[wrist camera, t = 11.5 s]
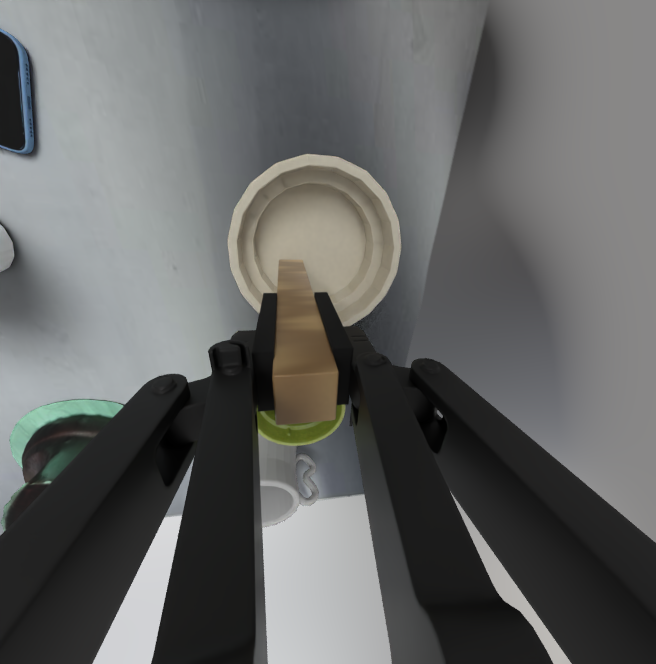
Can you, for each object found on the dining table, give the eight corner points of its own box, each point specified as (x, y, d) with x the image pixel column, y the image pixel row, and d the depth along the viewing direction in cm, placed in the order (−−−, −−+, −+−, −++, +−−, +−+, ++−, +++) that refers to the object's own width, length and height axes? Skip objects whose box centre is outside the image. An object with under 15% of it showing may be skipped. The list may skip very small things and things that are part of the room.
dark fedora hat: (-31, 395, 28) (176, 396, 33) (68, 436, 43) (200, 433, 47) (-167, 587, 20) (136, 552, 24) (15, 555, 34) (181, 537, 39)
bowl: (333, 127, 23) (348, 106, 18) (399, 263, 30) (425, 278, 24) (206, 224, 25) (186, 231, 20) (295, 332, 31) (298, 359, 26)
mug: (224, 450, 39) (207, 525, 30) (246, 406, 35) (235, 475, 27) (300, 465, 43) (305, 535, 34) (326, 427, 40) (339, 493, 31)
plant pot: (306, 402, 37) (312, 456, 29) (244, 376, 33) (232, 429, 26) (345, 353, 34) (363, 398, 26) (282, 318, 30) (282, 359, 23)
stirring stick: (302, 259, 24) (339, 371, 9) (302, 282, 25) (336, 420, 10) (278, 259, 24) (271, 376, 8) (279, 282, 25) (275, 426, 9)
